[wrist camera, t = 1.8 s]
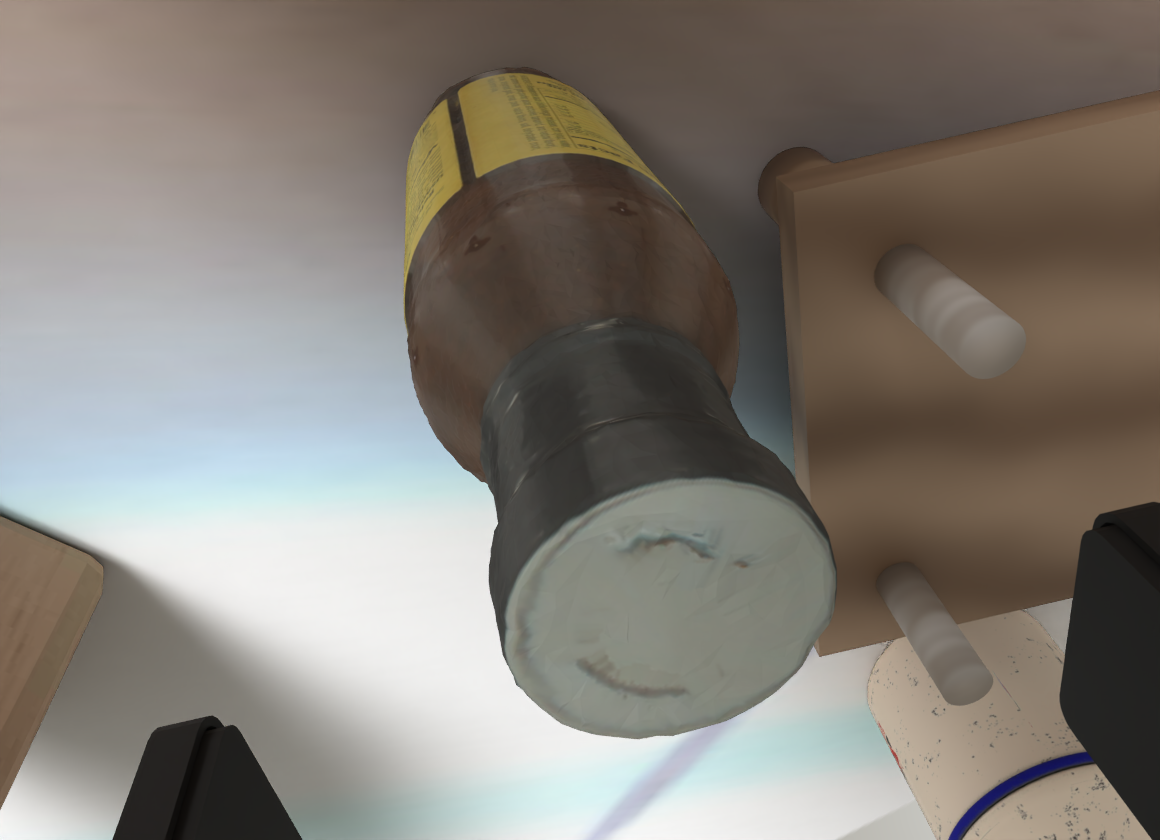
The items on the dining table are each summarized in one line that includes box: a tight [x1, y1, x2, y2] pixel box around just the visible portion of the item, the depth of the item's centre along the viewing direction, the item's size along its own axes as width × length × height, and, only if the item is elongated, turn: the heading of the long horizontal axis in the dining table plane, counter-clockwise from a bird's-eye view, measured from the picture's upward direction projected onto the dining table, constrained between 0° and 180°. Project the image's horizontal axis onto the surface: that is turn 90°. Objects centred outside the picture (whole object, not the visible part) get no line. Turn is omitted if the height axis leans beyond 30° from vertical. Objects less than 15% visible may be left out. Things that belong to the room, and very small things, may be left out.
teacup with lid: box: [867, 610, 1152, 840], centre depth 37 cm, size 12×9×12 cm
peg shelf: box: [758, 90, 1160, 706], centre depth 29 cm, size 18×18×10 cm
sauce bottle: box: [404, 67, 837, 739], centre depth 19 cm, size 6×6×20 cm
